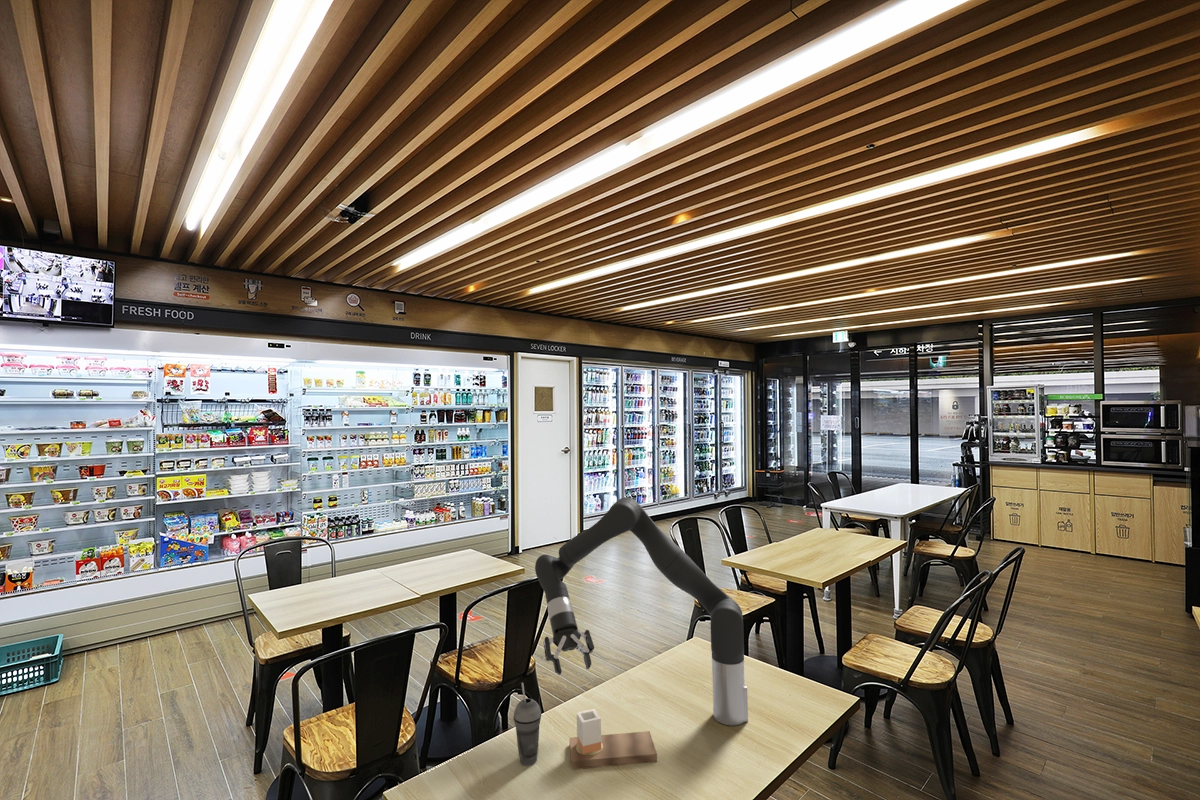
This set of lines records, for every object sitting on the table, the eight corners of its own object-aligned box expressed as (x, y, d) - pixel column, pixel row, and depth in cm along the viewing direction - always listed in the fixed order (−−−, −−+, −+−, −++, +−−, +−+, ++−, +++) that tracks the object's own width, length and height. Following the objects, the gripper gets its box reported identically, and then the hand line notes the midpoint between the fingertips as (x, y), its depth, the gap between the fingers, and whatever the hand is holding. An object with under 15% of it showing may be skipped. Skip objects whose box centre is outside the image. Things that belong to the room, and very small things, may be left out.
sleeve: (577, 743, 146) (576, 712, 146) (595, 738, 147) (594, 708, 148) (583, 754, 141) (582, 722, 141) (601, 749, 143) (600, 718, 143)
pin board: (649, 738, 151) (649, 713, 151) (657, 761, 141) (656, 734, 141) (569, 745, 149) (569, 719, 149) (571, 769, 139) (570, 742, 139)
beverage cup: (537, 771, 138) (535, 691, 139) (510, 768, 140) (508, 689, 140) (545, 753, 145) (544, 677, 146) (519, 750, 147) (518, 675, 147)
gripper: (540, 614, 161) (552, 670, 150) (586, 606, 166) (601, 660, 155) (536, 625, 166) (547, 681, 155) (581, 618, 171) (594, 671, 160)
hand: (574, 670), depth 155 cm, fingers open, 8 cm apart
